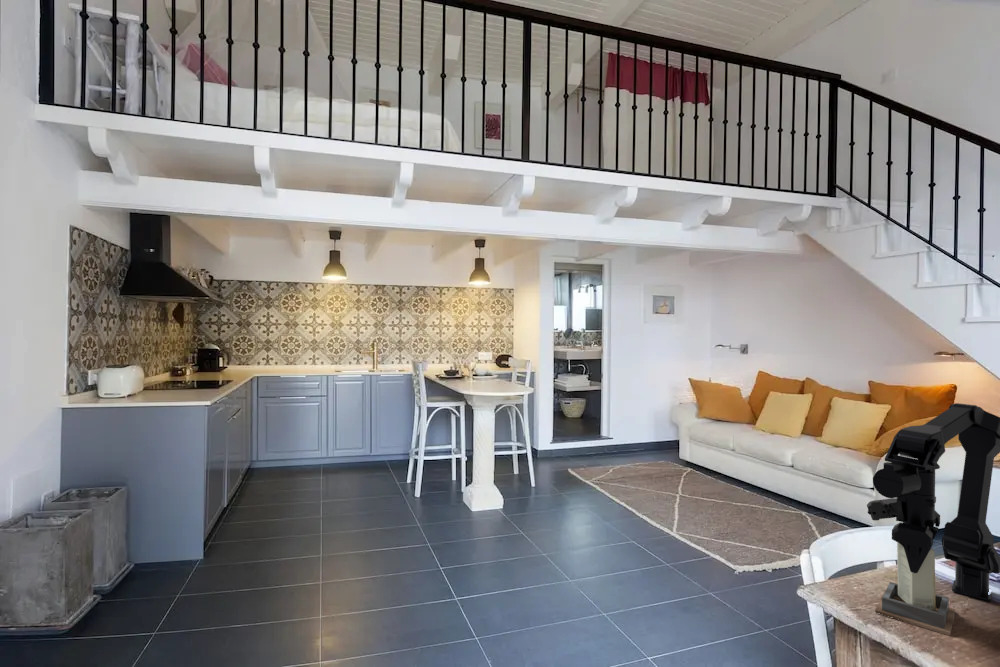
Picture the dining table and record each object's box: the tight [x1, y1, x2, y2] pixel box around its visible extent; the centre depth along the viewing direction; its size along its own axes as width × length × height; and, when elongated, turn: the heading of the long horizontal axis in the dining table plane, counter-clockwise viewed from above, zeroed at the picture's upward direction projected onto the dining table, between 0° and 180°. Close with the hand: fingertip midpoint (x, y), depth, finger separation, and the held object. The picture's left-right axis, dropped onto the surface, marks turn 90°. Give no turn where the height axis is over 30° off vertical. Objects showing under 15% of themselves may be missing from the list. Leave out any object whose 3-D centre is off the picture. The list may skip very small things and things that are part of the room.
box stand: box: [874, 581, 956, 637], centre depth 113 cm, size 12×12×3 cm
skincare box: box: [896, 542, 936, 610], centre depth 113 cm, size 6×4×12 cm
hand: (916, 566), depth 113 cm, fingers closed on skincare box, 7 cm apart
